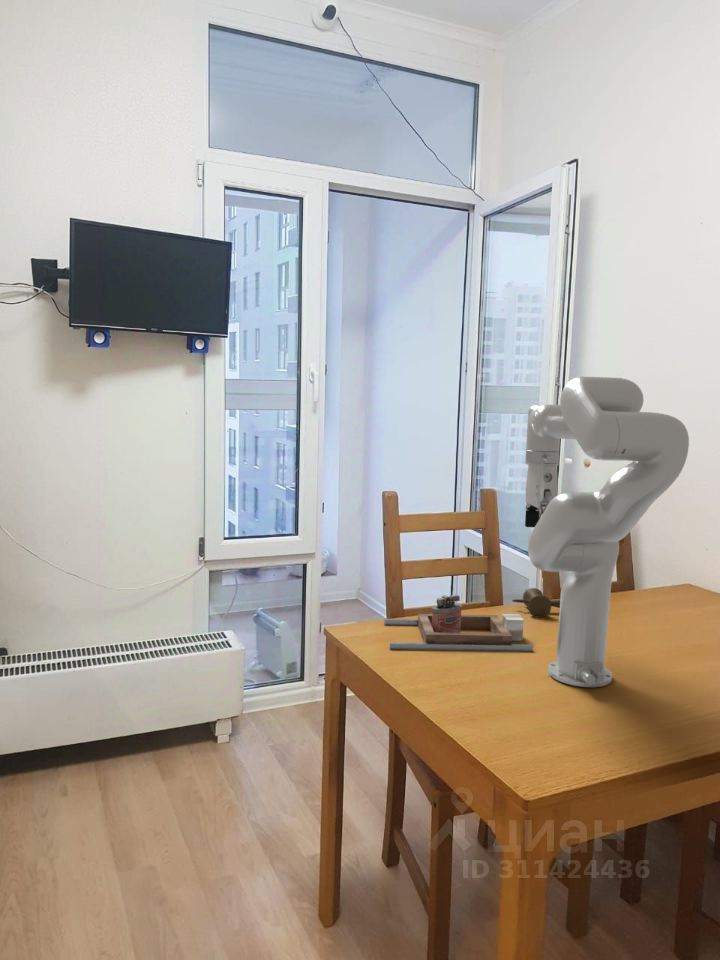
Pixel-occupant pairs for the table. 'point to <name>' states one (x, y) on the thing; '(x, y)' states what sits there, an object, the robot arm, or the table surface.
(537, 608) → the kendama
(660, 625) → the table surface
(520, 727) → the table surface
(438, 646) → the guide rails
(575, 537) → the robot arm
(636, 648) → the table surface
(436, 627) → the lighter
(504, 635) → the sliding frame
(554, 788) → the table surface
